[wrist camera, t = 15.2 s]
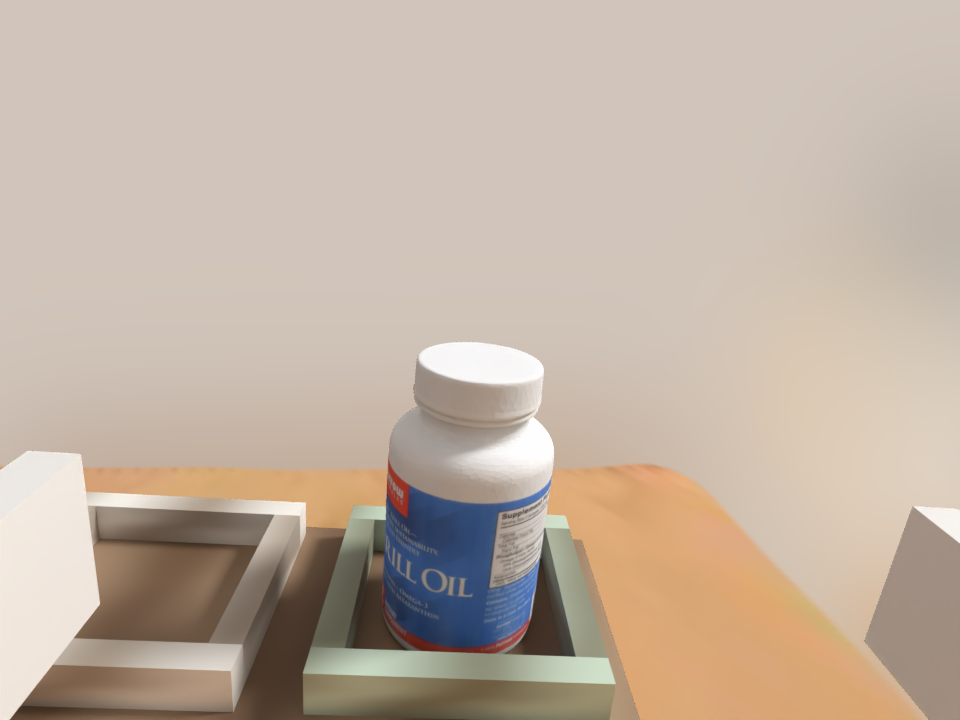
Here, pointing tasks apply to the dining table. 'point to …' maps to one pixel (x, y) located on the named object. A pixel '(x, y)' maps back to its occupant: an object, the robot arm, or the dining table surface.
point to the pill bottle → (466, 501)
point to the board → (305, 627)
